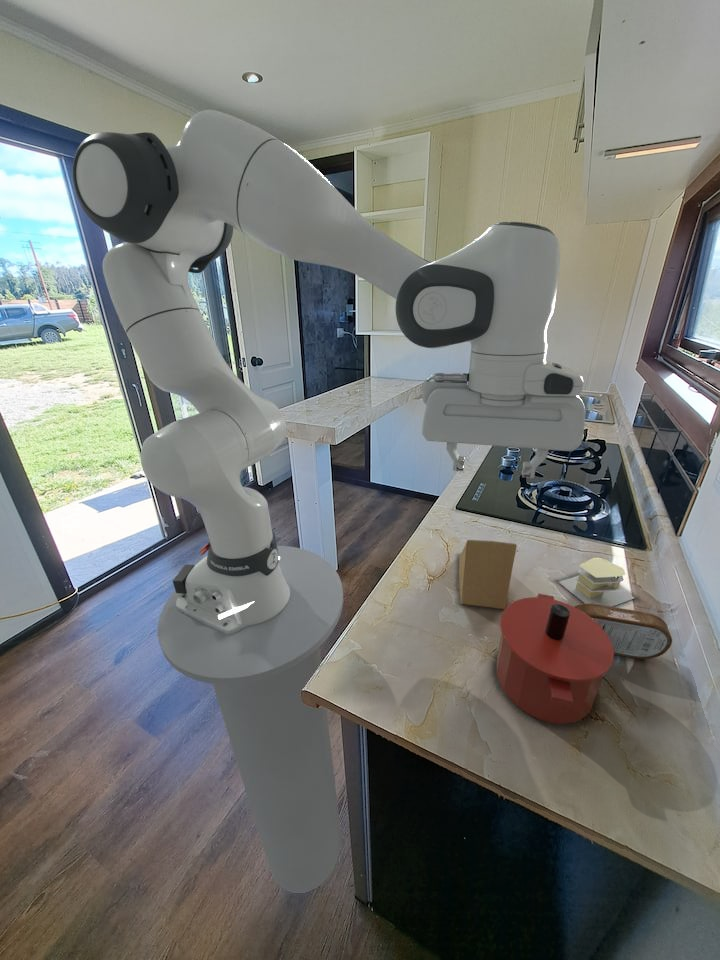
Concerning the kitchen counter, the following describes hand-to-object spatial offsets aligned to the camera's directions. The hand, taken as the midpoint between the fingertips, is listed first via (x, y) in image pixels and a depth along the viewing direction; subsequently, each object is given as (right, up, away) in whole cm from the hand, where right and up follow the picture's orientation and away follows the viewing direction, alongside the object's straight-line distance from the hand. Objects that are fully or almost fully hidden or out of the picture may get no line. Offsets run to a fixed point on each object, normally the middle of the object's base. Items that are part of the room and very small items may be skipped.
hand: (492, 472), depth 55 cm
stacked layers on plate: (+28, -23, +22) cm, 42 cm away
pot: (+9, -32, +5) cm, 34 cm away
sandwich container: (+6, -22, +25) cm, 34 cm away
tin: (+23, -29, +9) cm, 38 cm away
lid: (+9, -23, 0) cm, 25 cm away
